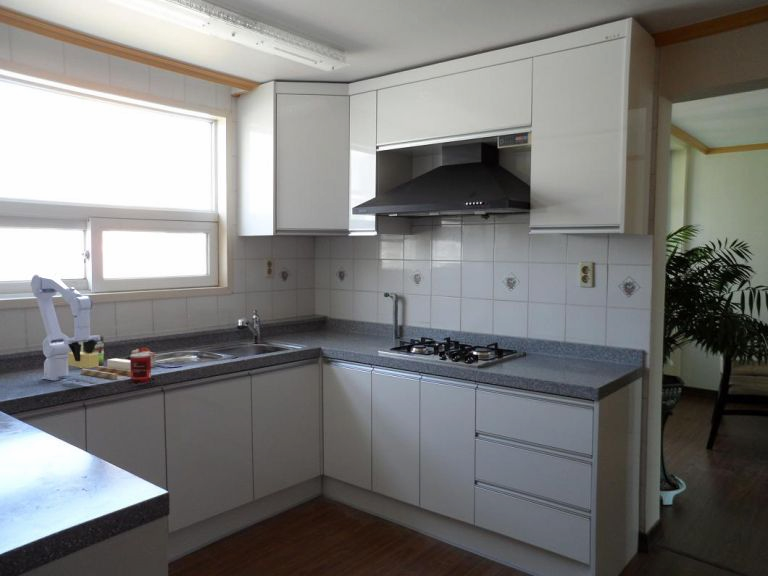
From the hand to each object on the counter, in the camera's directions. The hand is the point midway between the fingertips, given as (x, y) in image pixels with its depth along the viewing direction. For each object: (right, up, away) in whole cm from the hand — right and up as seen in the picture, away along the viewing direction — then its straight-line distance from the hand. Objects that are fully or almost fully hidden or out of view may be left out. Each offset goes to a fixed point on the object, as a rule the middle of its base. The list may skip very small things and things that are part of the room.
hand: (82, 360), depth 241 cm
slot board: (+7, -9, +13) cm, 17 cm away
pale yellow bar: (0, -2, 0) cm, 2 cm away
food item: (+12, -8, +31) cm, 34 cm away
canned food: (+22, -9, +4) cm, 24 cm away
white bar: (+9, -7, +16) cm, 19 cm away
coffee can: (-13, -8, +35) cm, 38 cm away
